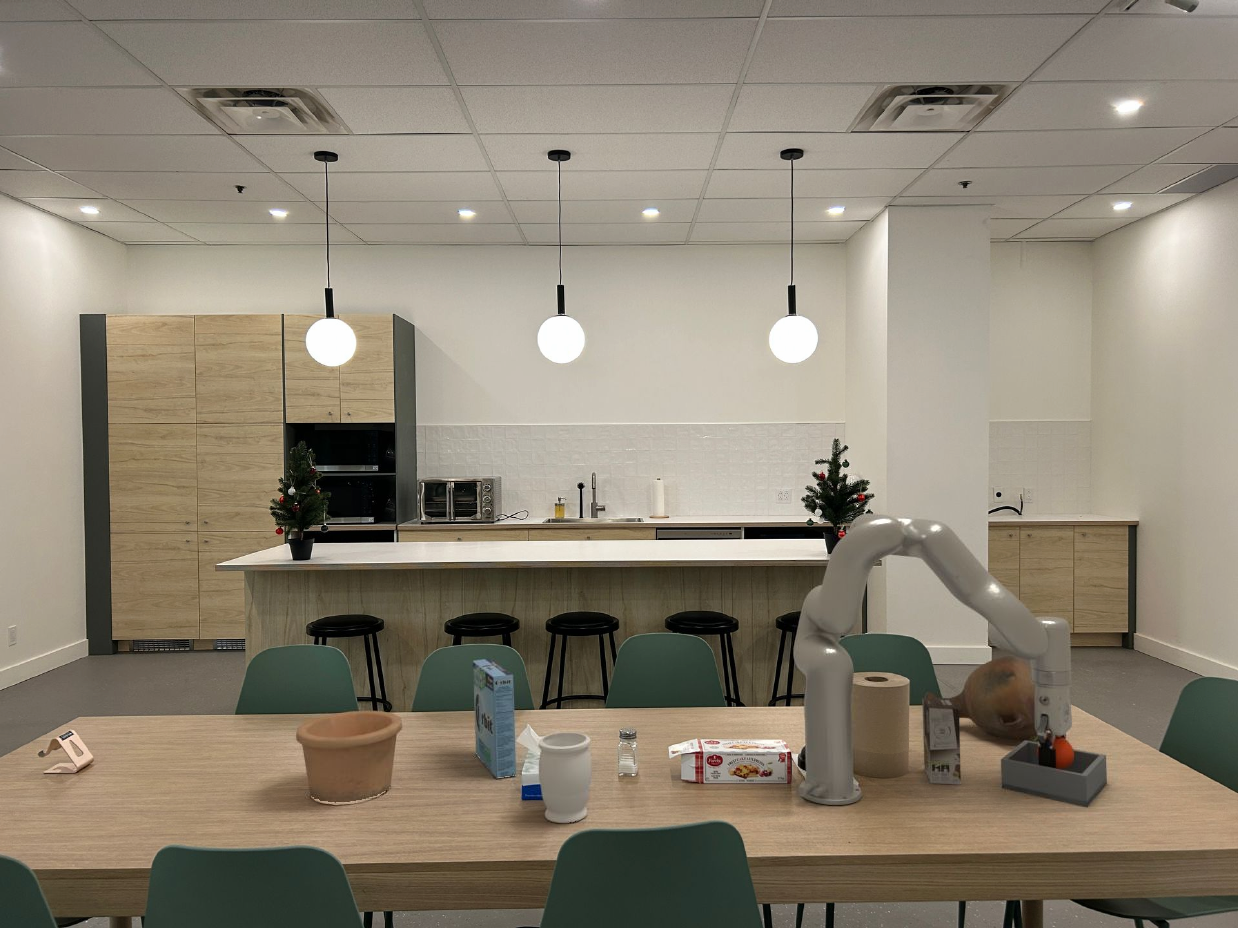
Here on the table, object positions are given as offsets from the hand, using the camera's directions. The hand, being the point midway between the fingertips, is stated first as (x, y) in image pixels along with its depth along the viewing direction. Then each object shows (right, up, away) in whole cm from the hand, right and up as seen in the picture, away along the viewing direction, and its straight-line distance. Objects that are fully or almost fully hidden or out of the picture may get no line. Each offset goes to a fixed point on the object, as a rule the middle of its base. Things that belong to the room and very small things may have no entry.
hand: (1052, 761), depth 177 cm
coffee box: (-21, -6, +7) cm, 22 cm away
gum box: (-120, -8, +21) cm, 122 cm away
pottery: (-149, -9, +6) cm, 149 cm away
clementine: (0, -2, 0) cm, 2 cm away
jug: (+2, -6, +36) cm, 36 cm away
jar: (-101, -7, -10) cm, 102 cm away
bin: (0, -5, 0) cm, 5 cm away
